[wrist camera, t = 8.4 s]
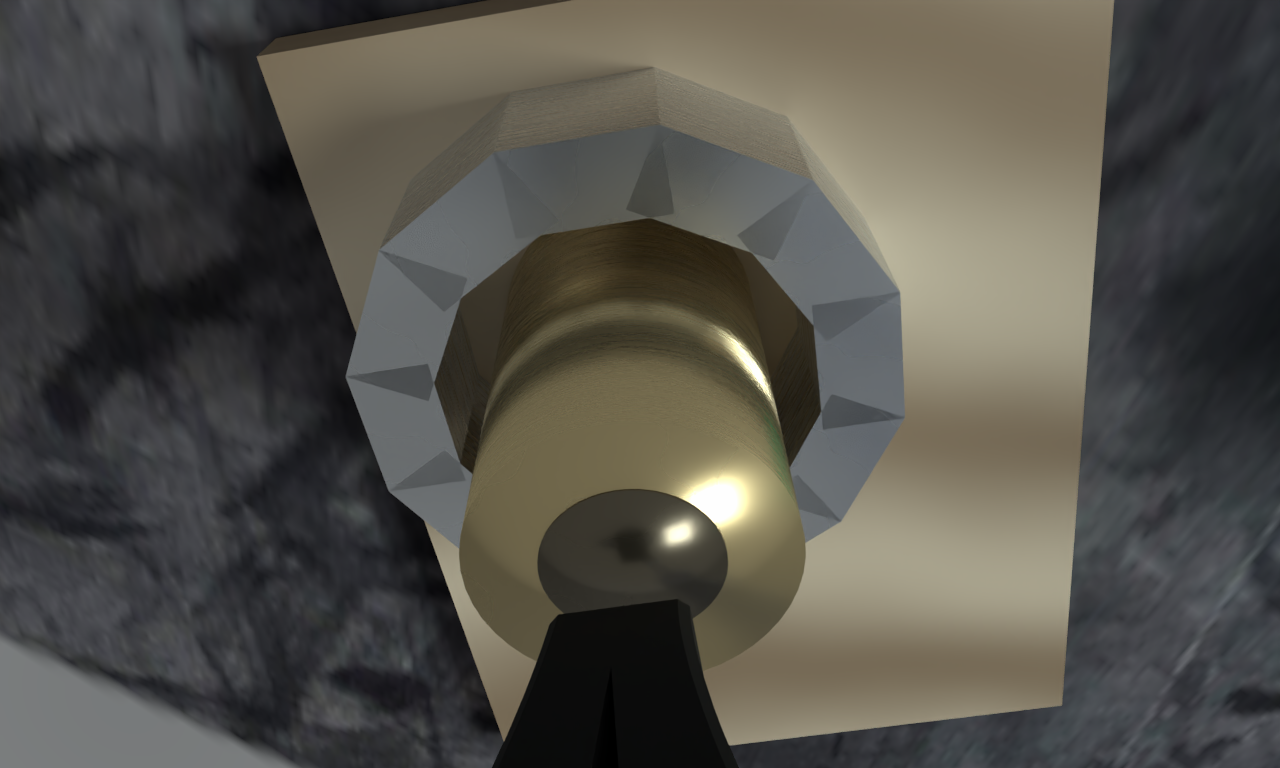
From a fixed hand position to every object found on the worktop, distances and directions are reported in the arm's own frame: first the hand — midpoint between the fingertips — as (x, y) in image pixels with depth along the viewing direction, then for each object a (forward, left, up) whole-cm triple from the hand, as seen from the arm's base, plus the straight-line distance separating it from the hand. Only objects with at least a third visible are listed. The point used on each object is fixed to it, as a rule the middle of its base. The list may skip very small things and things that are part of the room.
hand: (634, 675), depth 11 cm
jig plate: (-3, -1, -9) cm, 9 cm away
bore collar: (0, 0, -9) cm, 9 cm away
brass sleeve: (0, 0, -8) cm, 8 cm away
